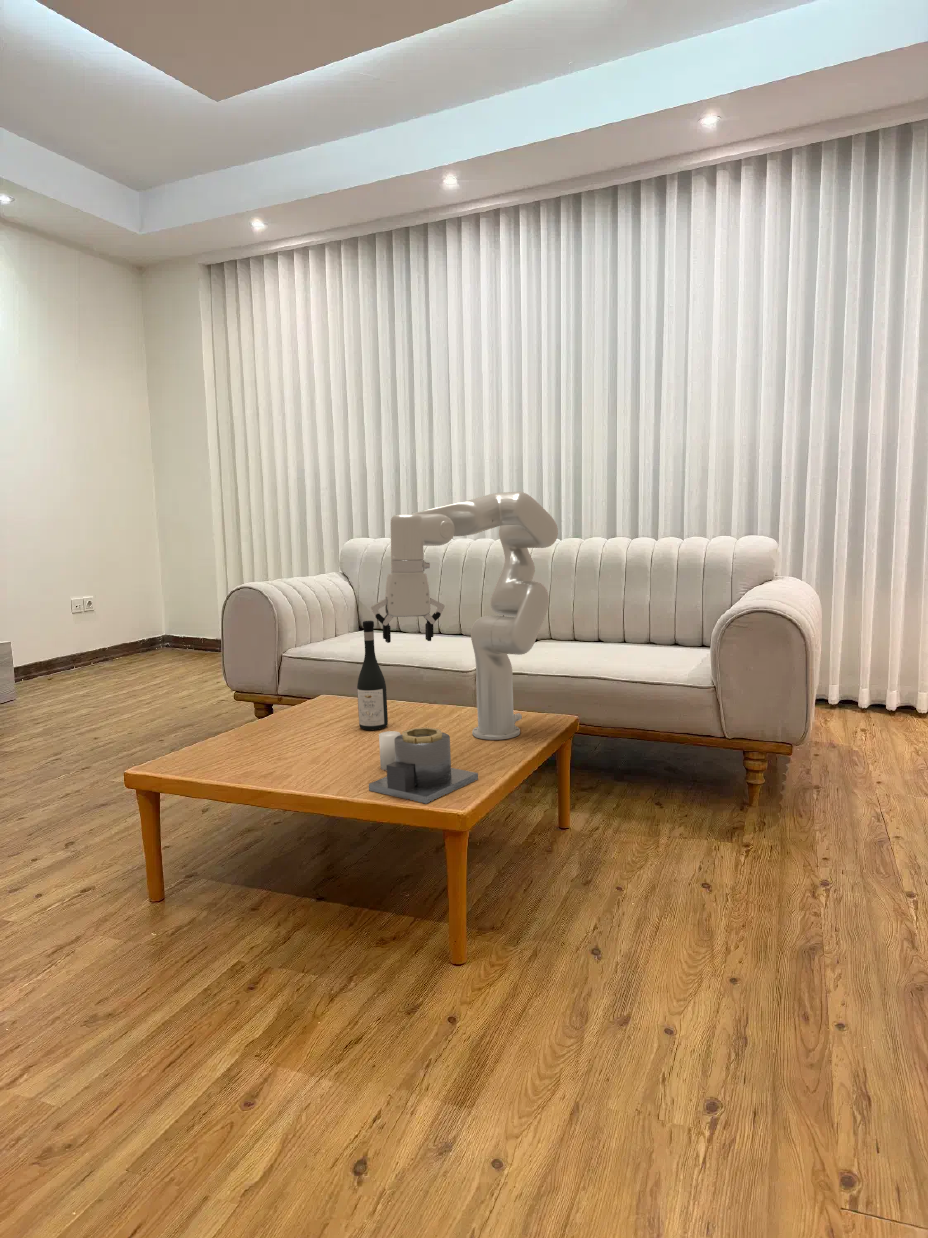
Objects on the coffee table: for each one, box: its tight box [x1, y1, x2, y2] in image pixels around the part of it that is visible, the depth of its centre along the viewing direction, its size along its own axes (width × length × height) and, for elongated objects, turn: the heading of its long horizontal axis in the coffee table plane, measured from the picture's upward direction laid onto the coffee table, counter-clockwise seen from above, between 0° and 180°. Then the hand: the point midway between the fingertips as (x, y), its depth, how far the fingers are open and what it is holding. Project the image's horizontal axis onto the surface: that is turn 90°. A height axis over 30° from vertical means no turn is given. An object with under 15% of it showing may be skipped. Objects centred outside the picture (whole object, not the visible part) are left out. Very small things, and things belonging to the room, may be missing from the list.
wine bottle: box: [356, 620, 389, 731], centre depth 232 cm, size 8×8×30 cm
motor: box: [368, 726, 479, 805], centre depth 182 cm, size 18×16×12 cm
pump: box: [378, 730, 401, 771], centre depth 195 cm, size 5×7×8 cm
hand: (408, 641), depth 195 cm, fingers open, 9 cm apart
